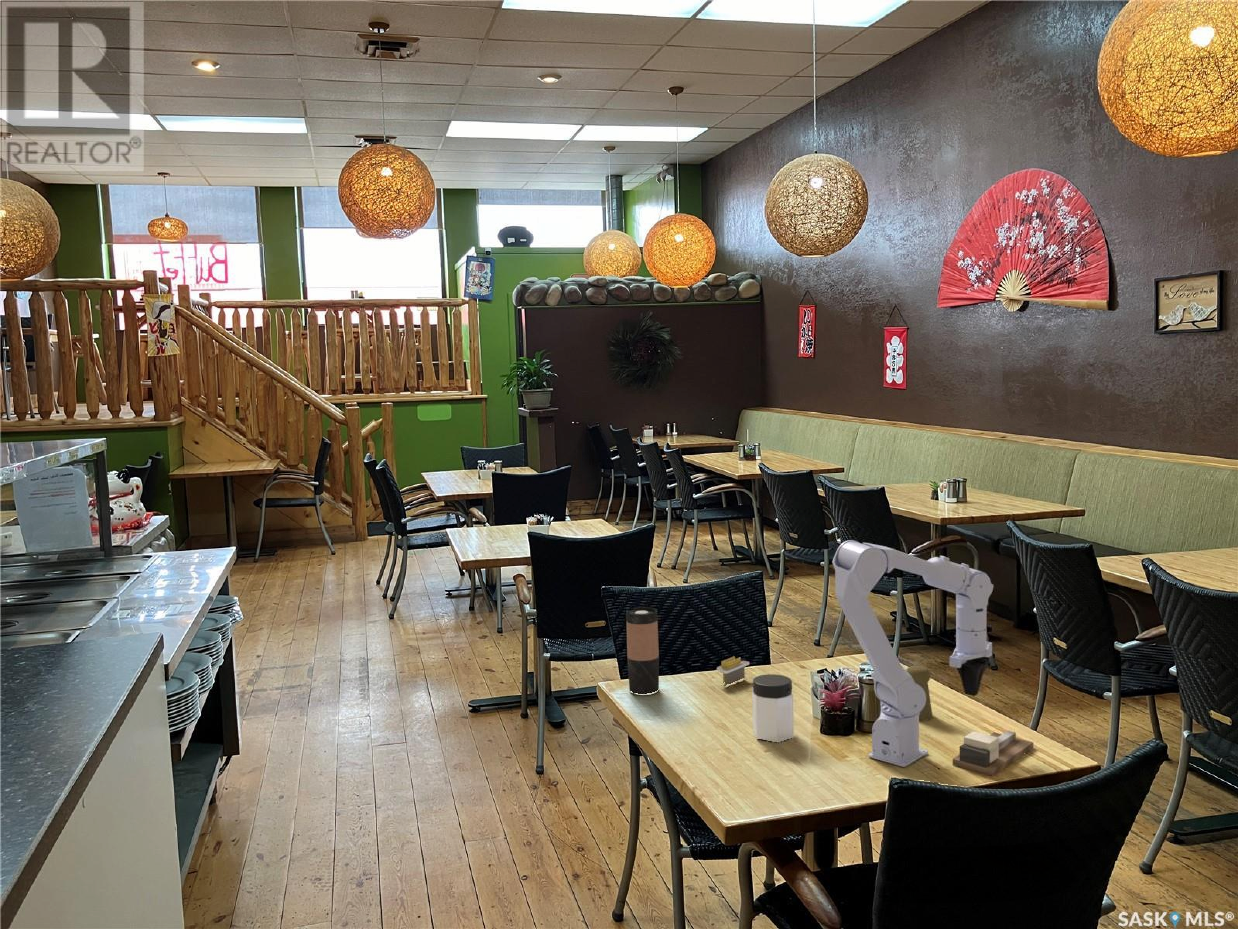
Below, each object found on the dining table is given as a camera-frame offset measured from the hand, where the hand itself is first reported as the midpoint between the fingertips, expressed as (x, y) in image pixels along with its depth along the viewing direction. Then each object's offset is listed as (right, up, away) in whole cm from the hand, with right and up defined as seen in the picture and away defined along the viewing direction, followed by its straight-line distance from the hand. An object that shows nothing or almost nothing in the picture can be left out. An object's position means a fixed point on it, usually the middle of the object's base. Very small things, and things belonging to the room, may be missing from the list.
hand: (971, 694), depth 192 cm
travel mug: (-65, -9, +41) cm, 77 cm away
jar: (-38, -11, +9) cm, 41 cm away
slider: (-2, -10, -9) cm, 14 cm away
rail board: (+2, -11, -5) cm, 12 cm away
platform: (-43, -9, +44) cm, 62 cm away
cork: (-5, -9, +18) cm, 21 cm away
